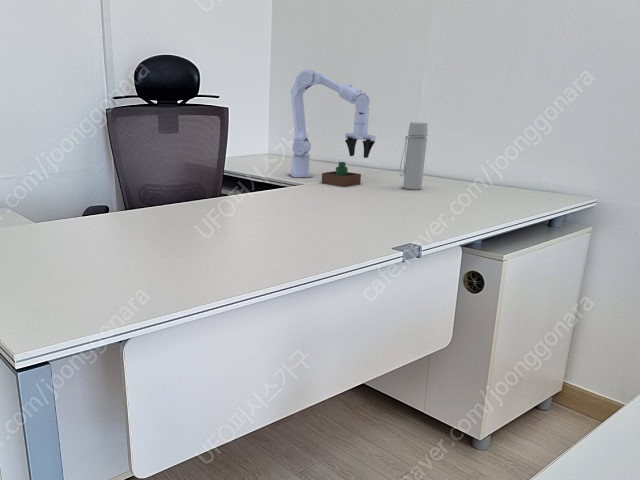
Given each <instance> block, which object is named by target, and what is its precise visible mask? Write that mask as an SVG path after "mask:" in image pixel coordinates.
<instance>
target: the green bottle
mask: <svg viewBox="0 0 640 480" xmlns="http://www.w3.org/2000/svg"><path fill="white" fill-rule="evenodd" d="M348 170H349V169H348V167H347V166H346V162H345V161H338V166H336V167H335V171H336V175H340V176H347V172H348Z"/></svg>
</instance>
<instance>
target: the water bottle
mask: <svg viewBox="0 0 640 480" xmlns="http://www.w3.org/2000/svg"><path fill="white" fill-rule="evenodd" d="M428 124H429V123H428V122H421V121H420V122H419V121H418V122H417V121H415V122H413V121H412V122H409V127H408V130H407V131H408V132H407V135H405V143H404V147H403V152H402V155H401V161H400V165H399V170H401V168H402V163H403V173H402V174H401V173H399V176H400V177H403V184H402V187H403V189H405V190H411V191H416V190H417V191H418V190H420V189H422V185H423V179H424V168H425V161H426V160H425V159H426V153H427V152H426V149H427V143H428ZM404 157H405V160H404V162H403V159H404Z"/></svg>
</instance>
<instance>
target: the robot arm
mask: <svg viewBox="0 0 640 480" xmlns="http://www.w3.org/2000/svg"><path fill="white" fill-rule="evenodd" d="M314 85H322V86H324V87H326V88H327V89H330V90H333V91H335V92H336V93H338V97H339V98H341V99H342V100H345V101H346V102H348V103H349V104H352V105H353V104H354V105H355V112H354V120H353V121H354V123H353V133H350V132H349V133H348V132H347V133H345V137H344V138H345V144H346V146H347V150H348V153H349V157H354V156H355V154H356V153H355V152H356V145H357V141H358V140H362V145H363V146H362V147H363V158H364V159H368V158H369V155H370V153H371V150H372V147H373V146H374V145H375V143H376V135H373V134H368V131H369V129H368V128H369V118H370V117H369V115H370V103H371V97H370V96H369V94H368V93H366V92H363V90H361V89H360V90H359V89H357V88H355V87H353V84H351V83H349V84H348V83H346V84H343V85H342V84H341V83H339V82H337V81H335V80H333V79H332V78H330V77H329V76H326V75H325V74H322V73H320V72H316V71H315V70H313V69H310V70H308V69H304V70H302V71H300V72H299V73H298V74H297V75H296V77H295V80H294V83H293V85H292V87H291V90H290V97H291V99H290V100H291V109H292V118H293V129H294V130H293V131H294V136H293V144H292V148H291V149H292V152H293V156H292V158H291V160H290V161H291V166H290V167H291V168H290V172H289V173H288V175H290V176H292V177H293V178H312V175H311V174H310V157H311V156H310V153H309V152H310V151H311V148H312V144H311V142H310V141H309V136H308V133H307V125H306V113H305V103H304V93H306V92H307V90H308V89H309V88H310V87H312V86H314Z"/></svg>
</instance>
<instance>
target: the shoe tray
mask: <svg viewBox="0 0 640 480" xmlns="http://www.w3.org/2000/svg"><path fill="white" fill-rule="evenodd" d="M361 177H362V174H361V173H357V172H350V171H347V176H340V175H336V170H334V171H327V172H322V173H321V184H325V185H332V186H338V187H343V188H345V187H351V186H356V185H357V186H358V185H361Z"/></svg>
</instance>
